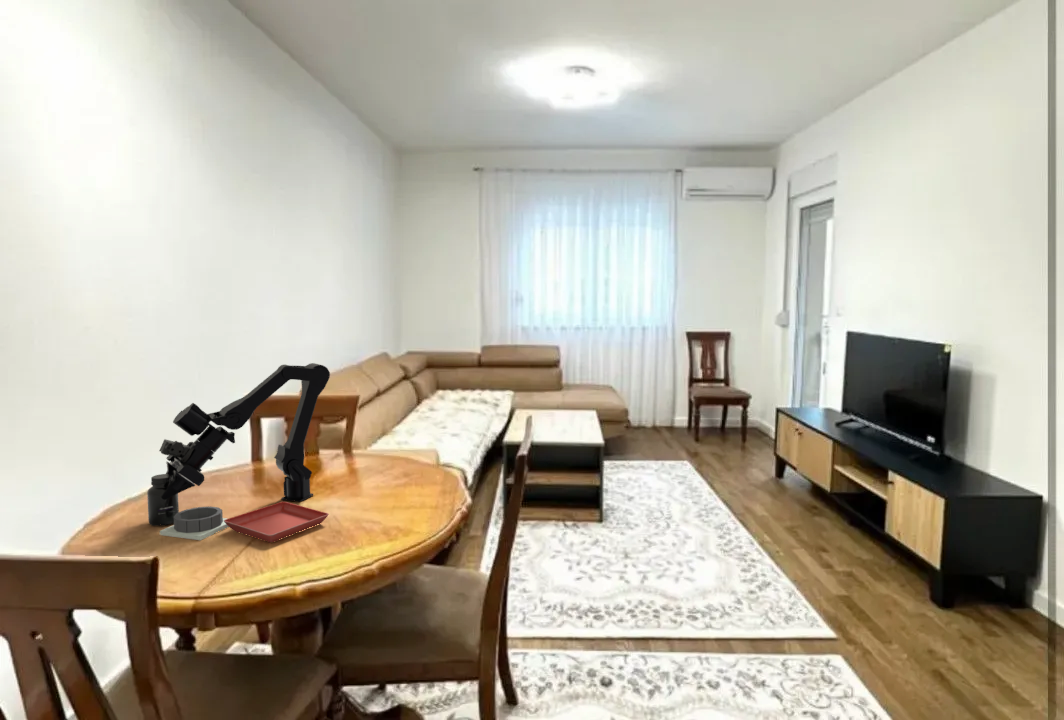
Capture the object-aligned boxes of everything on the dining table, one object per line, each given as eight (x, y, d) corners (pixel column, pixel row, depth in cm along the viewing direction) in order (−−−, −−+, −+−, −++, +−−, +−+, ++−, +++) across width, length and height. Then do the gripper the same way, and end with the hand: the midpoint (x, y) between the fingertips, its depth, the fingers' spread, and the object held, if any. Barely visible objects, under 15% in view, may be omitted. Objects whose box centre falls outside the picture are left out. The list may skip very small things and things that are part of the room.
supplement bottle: (165, 527, 162) (163, 480, 161) (142, 525, 163) (139, 479, 162) (185, 518, 169) (183, 473, 167) (162, 516, 170) (160, 471, 169)
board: (236, 523, 166) (236, 519, 166) (200, 540, 154) (200, 536, 154) (197, 518, 169) (197, 514, 169) (159, 534, 158) (159, 530, 158)
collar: (231, 520, 165) (231, 508, 165) (200, 534, 155) (199, 522, 155) (197, 516, 168) (197, 504, 168) (164, 530, 158) (164, 518, 158)
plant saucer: (330, 525, 166) (330, 512, 166) (270, 548, 151) (270, 534, 150) (283, 512, 175) (283, 500, 175) (222, 533, 160) (221, 520, 160)
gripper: (173, 422, 174) (128, 469, 168) (187, 434, 159) (137, 486, 154) (207, 446, 179) (164, 493, 174) (223, 460, 165) (177, 511, 159)
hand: (160, 495), depth 165 cm, fingers closed on supplement bottle, 7 cm apart
